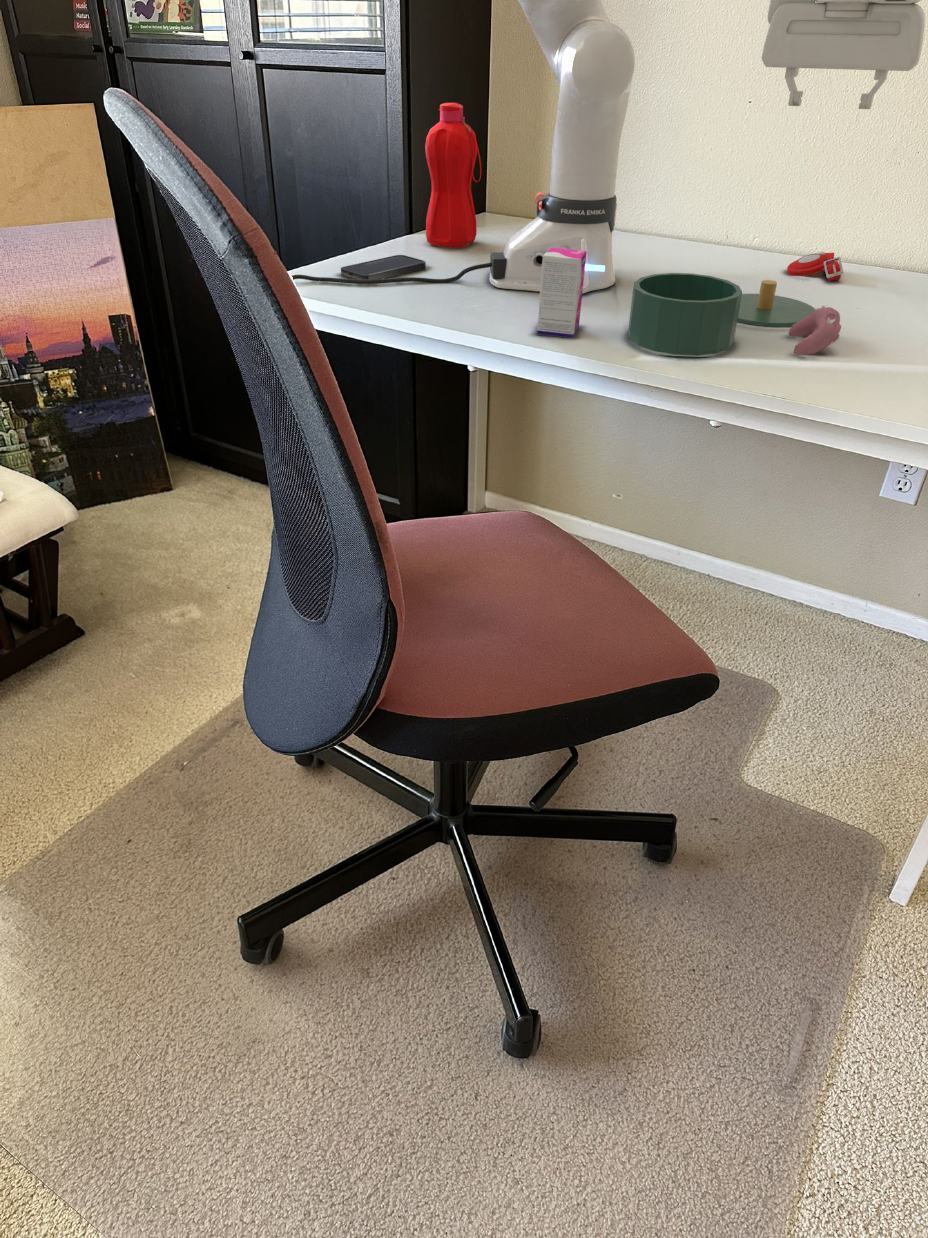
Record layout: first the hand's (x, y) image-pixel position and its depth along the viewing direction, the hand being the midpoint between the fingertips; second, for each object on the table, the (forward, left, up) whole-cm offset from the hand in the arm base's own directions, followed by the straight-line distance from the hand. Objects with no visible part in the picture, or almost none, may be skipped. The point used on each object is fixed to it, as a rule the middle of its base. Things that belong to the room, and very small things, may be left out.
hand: (828, 107), depth 126 cm
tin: (-18, -12, -30) cm, 37 cm away
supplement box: (-36, -9, -30) cm, 47 cm away
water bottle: (-57, +45, -30) cm, 78 cm away
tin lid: (-3, +3, -29) cm, 29 cm away
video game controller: (+1, -13, -30) cm, 33 cm away
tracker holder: (+11, +28, -30) cm, 43 cm away
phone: (-68, +22, -30) cm, 77 cm away
